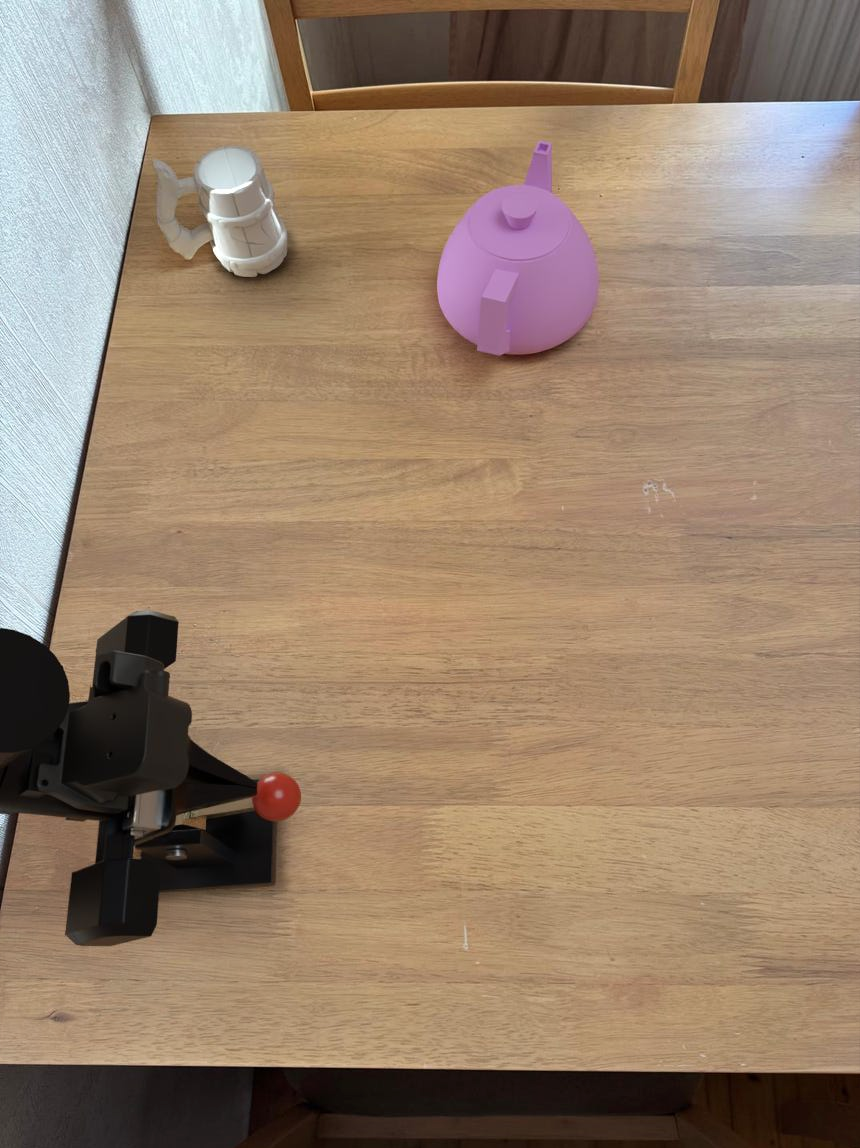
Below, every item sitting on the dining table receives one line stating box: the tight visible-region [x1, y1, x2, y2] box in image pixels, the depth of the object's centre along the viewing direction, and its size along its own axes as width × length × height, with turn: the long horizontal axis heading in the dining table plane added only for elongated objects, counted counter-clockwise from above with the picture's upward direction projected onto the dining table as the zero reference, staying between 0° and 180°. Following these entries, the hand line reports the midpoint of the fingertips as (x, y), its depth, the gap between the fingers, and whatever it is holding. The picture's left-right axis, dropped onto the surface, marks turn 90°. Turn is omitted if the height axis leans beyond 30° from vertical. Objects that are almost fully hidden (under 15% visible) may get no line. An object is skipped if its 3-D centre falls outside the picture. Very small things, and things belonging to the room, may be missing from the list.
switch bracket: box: [134, 778, 278, 894], centre depth 66 cm, size 10×8×10 cm
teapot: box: [436, 139, 600, 357], centre depth 85 cm, size 22×16×12 cm
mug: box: [151, 144, 289, 278], centre depth 88 cm, size 8×12×12 cm, turn 107°
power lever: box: [171, 772, 302, 831], centre depth 62 cm, size 11×3×3 cm, turn 94°
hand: (254, 790), depth 59 cm, fingers closed
